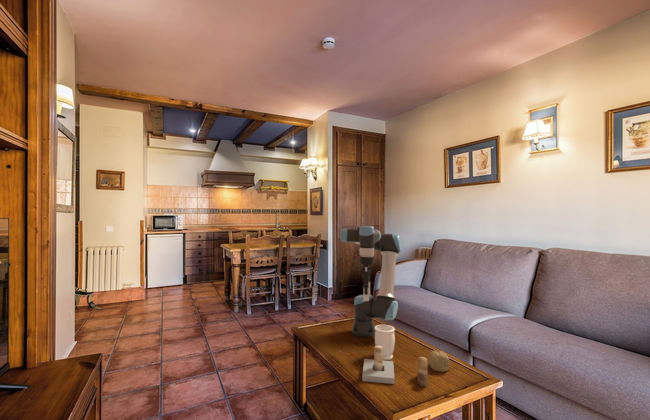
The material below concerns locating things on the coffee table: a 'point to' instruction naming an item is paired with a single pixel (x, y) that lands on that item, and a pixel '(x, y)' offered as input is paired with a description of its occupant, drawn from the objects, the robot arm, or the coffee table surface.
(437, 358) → the decorative object
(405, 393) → the coffee table surface
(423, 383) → the walnut pin
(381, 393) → the coffee table surface
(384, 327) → the jar
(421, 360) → the oak pin
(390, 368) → the hole plate
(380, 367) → the birch pin
